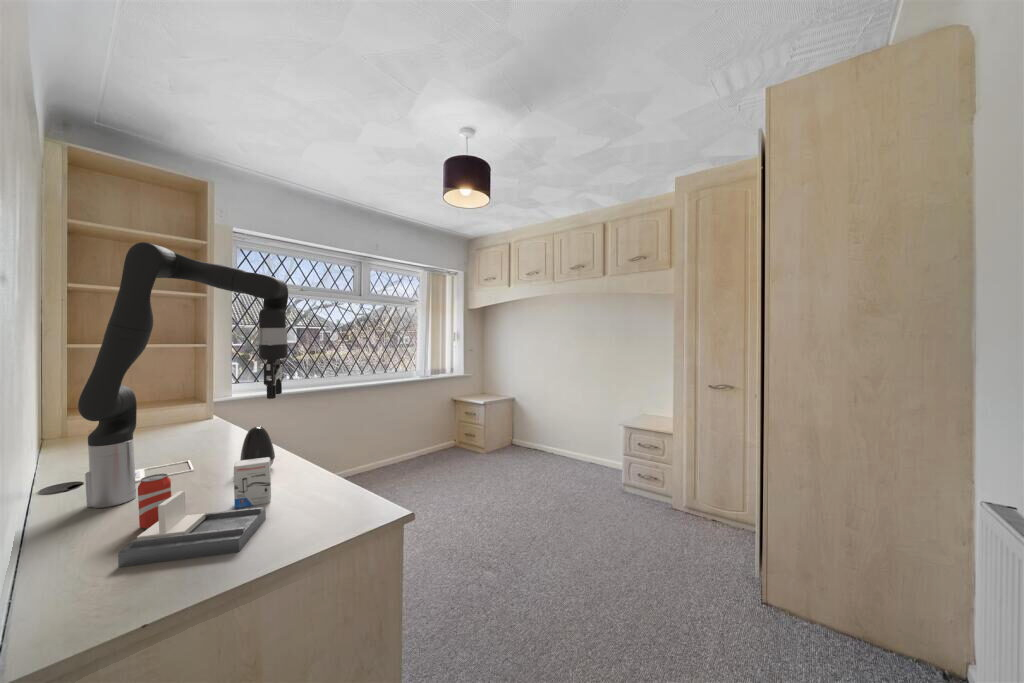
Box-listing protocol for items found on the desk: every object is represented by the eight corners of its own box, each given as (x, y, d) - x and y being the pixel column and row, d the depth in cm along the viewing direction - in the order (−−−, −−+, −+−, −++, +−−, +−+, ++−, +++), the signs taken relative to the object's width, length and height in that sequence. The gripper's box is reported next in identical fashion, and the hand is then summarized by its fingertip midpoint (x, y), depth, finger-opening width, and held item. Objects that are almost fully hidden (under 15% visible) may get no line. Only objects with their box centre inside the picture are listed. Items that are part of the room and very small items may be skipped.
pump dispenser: (278, 463, 148) (276, 422, 147) (271, 473, 138) (269, 428, 138) (246, 467, 145) (244, 424, 144) (236, 477, 135) (234, 431, 134)
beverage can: (160, 517, 106) (158, 471, 106) (178, 520, 104) (176, 474, 104) (133, 528, 100) (131, 480, 100) (151, 532, 98) (149, 482, 98)
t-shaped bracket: (137, 542, 87) (135, 508, 87) (162, 522, 96) (161, 492, 96) (184, 536, 89) (183, 503, 89) (205, 518, 98) (204, 488, 98)
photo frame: (123, 471, 140) (189, 459, 153) (123, 474, 140) (189, 462, 153) (122, 482, 130) (193, 468, 142) (122, 486, 130) (194, 472, 142)
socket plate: (118, 567, 84) (117, 548, 83) (165, 530, 99) (164, 513, 99) (239, 551, 89) (238, 533, 88) (265, 518, 104) (265, 503, 104)
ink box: (233, 509, 110) (232, 466, 110) (236, 502, 114) (234, 461, 114) (270, 502, 114) (269, 461, 114) (271, 496, 118) (270, 456, 118)
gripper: (264, 342, 129) (266, 393, 129) (252, 344, 115) (254, 401, 116) (291, 342, 131) (292, 392, 132) (282, 343, 118) (283, 399, 118)
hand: (274, 396), depth 124 cm, fingers open, 8 cm apart
